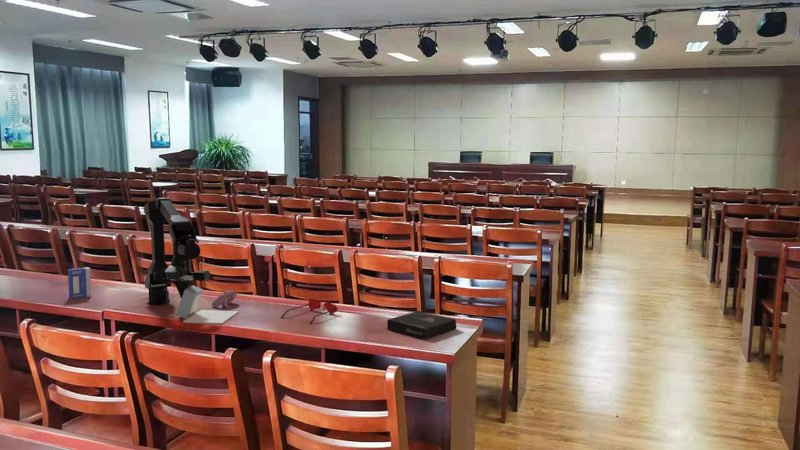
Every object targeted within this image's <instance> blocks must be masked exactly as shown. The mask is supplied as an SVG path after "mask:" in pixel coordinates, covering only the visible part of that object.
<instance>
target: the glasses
mask: <svg viewBox="0 0 800 450" xmlns="http://www.w3.org/2000/svg"><path fill="white" fill-rule="evenodd" d="M322 302H325V303H323V306H322V305H321V303H322ZM307 306H308V308H309V309H310V311H313V310H317V309H318V310H319V309H321V306H322V309H323V310H324V311H325V310H327V311H325V312H322V313H320V314H317V315H315V316H314V317H312V319H311V321H310V322H309V325H311V324H312V323H313V322H314V320H315V318H316V317H319V316H321V315H324V314H325V315H326V314H327V313H329V314H330V315H333V314H335V313H336V312H338V310H339V307H338V306H337V305H336V304H335V302H332V301H328V300H321V299H315V298H309V300H308V303H307V304H303V305H301V306H298V307H294V308H291V309H288V310H286V311H285V312H283V314H282V315H281V316H280V318H279V319H283V318H284V316H286V314H287V313H288V312H290V311H293V310H297V309H299V308H300V309H301V308H302V307H307Z"/></svg>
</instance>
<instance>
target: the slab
mask: <svg viewBox="0 0 800 450" xmlns="http://www.w3.org/2000/svg"><path fill="white" fill-rule="evenodd" d="M203 291H204V289H203V288H201V287H198V286H196V285H190V286H189V288H187V289H185V291H184V293H183V296H182V299H181V298H180V299H181V300H180V302H179V304H178V308H177V310H176V312H175V316H177V317H180V318H182V319H184V320H186V319H188V318H189V317H190V316H193V315H194V314H196V310H197V308H198V305H199V303H200V300H201V298H202V294H203Z"/></svg>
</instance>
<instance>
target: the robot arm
mask: <svg viewBox="0 0 800 450" xmlns="http://www.w3.org/2000/svg"><path fill="white" fill-rule="evenodd" d="M172 202H173V201H172V198H169V197H157V198H156V199H154V200H151V201H147V203H146V204H144V206H143V213H144V214H145V219H146V220H147V222H148V223H149V224H150V225H149V226H150V240H151V241H150V242H151V260H152V261H151V263H150V265H149V267H148V269H147V274H146V278H145V280H144V288H146V289H148V301H147V302H146V304H148V305H165V304H166V303H168V302H170V300H171V299H170V294H169V293H170V292H169V289H168V288H169V287H172V283H173V284H174V285H175V287H176V289H177V291H178V295H179V298H180V299H182V296H183V293H184V291H185V289H187V288H189V287H191V284H192V282H193V281H195V282H196V281H197V282H199V281H200V282H204V281H207V280H208V279H210V278H211V272H210V271H209V270H207V269H206V270H202V269H198V270H197V271H194V272H193V269H192V268H191V261H192V260H195V259H197V258H198V257H199V256H200V254H201V247H200V246H199V244H197V243H195V242H196V240H197V233H196V230H195V228H194V226H193V223H192V222H191V220H189V219H188V218H187V217H185V216H182V215H181V214H180V213H179V211H178V210H177V209H176V207H175V205H174V204H173V203H172ZM166 222H167V223H168V234H169V235H170V238H171V242H172V258H171V262H170V263H171V264H170V265H168V264H167V262H166V254H165V253H166V252H165V250H166V249H165V231H164V230H165V229H164V228H165V227H164V226H165V225H164V224H165V223H166Z"/></svg>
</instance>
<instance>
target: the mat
mask: <svg viewBox="0 0 800 450" xmlns="http://www.w3.org/2000/svg"><path fill="white" fill-rule="evenodd" d="M238 313H239V311H238V310H235V311H234V310H212V309H211V310H210V309H200V311H199V310H198V312H195V314H194V315H192V316H191V317H189V318H187V319H184V320H183V321H182V323H183V324H201V325H202V324H203V325H204V324H205V325H223V324H224V323H226V322H227V321H229V320H230V319H232V318H234V316H236V315H237V314H238Z"/></svg>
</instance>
